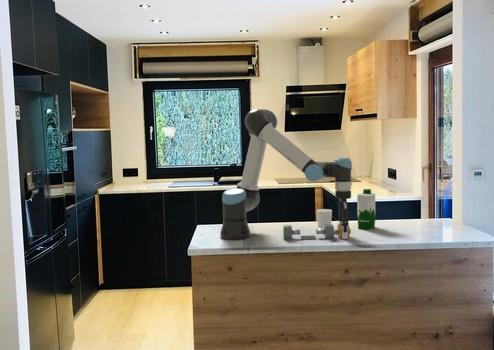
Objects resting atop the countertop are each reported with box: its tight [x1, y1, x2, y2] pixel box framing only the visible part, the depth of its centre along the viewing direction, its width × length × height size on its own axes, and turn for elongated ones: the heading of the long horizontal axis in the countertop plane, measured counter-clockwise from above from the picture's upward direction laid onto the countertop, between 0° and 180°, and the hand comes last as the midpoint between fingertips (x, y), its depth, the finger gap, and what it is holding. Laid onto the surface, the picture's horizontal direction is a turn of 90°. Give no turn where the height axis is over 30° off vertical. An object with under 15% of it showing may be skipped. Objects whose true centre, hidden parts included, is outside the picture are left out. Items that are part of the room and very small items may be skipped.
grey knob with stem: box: [315, 223, 335, 240], centre depth 234 cm, size 8×5×6 cm, turn 87°
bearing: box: [282, 224, 301, 241], centre depth 235 cm, size 8×5×6 cm, turn 87°
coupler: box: [335, 224, 352, 240], centre depth 234 cm, size 7×5×6 cm
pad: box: [300, 235, 317, 241], centre depth 235 cm, size 7×7×1 cm
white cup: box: [316, 208, 333, 229], centre depth 253 cm, size 8×8×10 cm
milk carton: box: [356, 188, 376, 230], centre depth 252 cm, size 9×9×20 cm
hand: (343, 236), depth 234 cm, fingers open, 7 cm apart
